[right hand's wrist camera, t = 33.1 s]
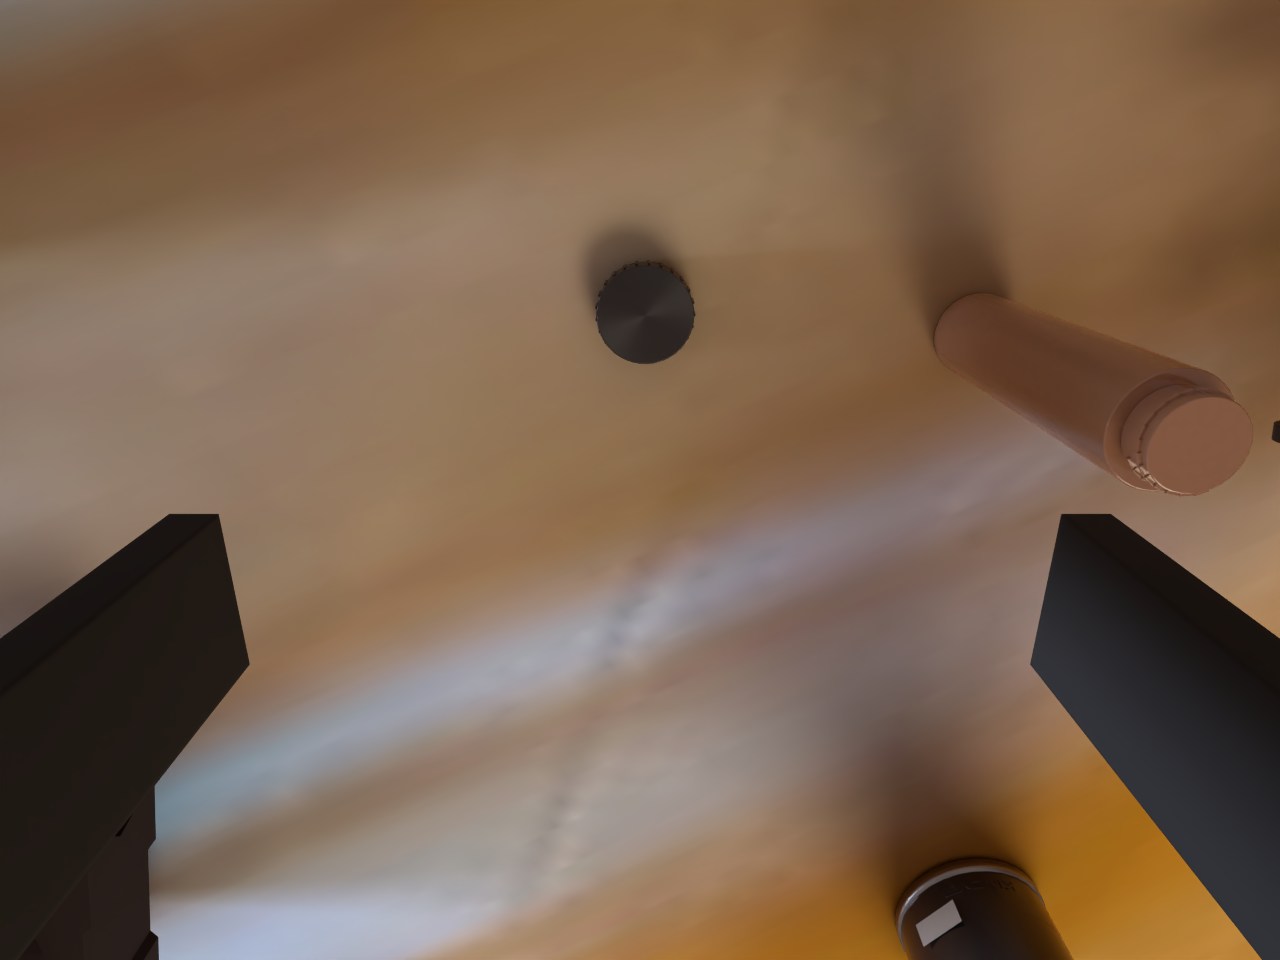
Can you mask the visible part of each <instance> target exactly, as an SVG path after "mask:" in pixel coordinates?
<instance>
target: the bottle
mask: <svg viewBox="0 0 1280 960" xmlns="http://www.w3.org/2000/svg"><path fill="white" fill-rule="evenodd" d="M934 344H935V350H936V353H937V355H938V357H939V359H940V361H941V362H942V363H943V364H944V365H945V366H946V367H947V368H948V369H950V370H951V371H953V372H954V373H956V374H958V375H959V376H961V377H962V378H964V379H965V380H967V381H968V382H970V383H971V384H973V385H974V386H976V387H977V388H979V389H980V390H982V391H984V392H985V393H987V394H988V395H990V396H991V397H993V398H994V399H996V400H997V401H999V402H1000V403H1002V404H1003V405H1005V406H1007V407H1008V408H1010V409H1011V410H1013V411H1014V412H1016V413H1017V414H1019V415H1020V416H1022V417H1023V418H1025V419H1026V420H1028V421H1029V422H1031V423H1033V424H1034V425H1036V426H1037V427H1039V428H1040V429H1042V430H1043V431H1045V432H1046V433H1048V434H1049V435H1051V436H1052V437H1054V438H1056V439H1057V440H1059V441H1060V442H1062V443H1063V444H1065V445H1066V446H1068V447H1069V448H1071V449H1072V450H1074V451H1075V452H1077V453H1078V454H1080V455H1082V456H1083V457H1085V458H1086V459H1088V460H1089V461H1091V462H1092V463H1094V464H1095V465H1097V466H1098V467H1100V468H1101V469H1103V470H1105V471H1106V472H1108V473H1109V474H1111V475H1112V476H1114V477H1115V478H1117V479H1118V480H1120V481H1121V482H1123V483H1125V484H1126V485H1128V486H1130V487H1133V488H1136V489H1139V490H1145V491H1162V492H1164V493H1167V494H1172V495H1178V496H1188V495H1194V496H1195V495H1199V494H1202V493H1205V492H1208V491H1209V490H1210V489H1212V488H1214V487H1216V486H1218V485H1220V484H1222V483H1223V482H1225V481H1226V480H1227V479H1229V478H1230V477H1231V476H1232V475H1233V474H1234V473H1235V472H1236V471H1237V470H1238V469H1239V468H1240V467H1241V465H1242V464H1243V463H1244V461H1245V459H1246V457H1247V456H1248V453H1249V451H1250V448H1251V445H1252V439H1253V428H1252V423H1251V420H1250V418H1249V416H1248V414H1247V412H1246V411H1245V410H1244V408H1243V407H1242V406H1241V405H1239V404H1238V403H1236V402H1235V401H1234V399H1233V396H1232V394H1231V392H1230V390H1229V389H1228V387H1227V386H1226V385H1225V383H1224V382H1222V381H1221V380H1220V379H1219V378H1218V377H1216V376H1215V375H1213V374H1211V373H1209V372H1207V371H1205V370H1202V369H1199V368H1196V367H1194V366H1191V365H1188V364H1185V363H1182V362H1180V361H1177V360H1174V359H1171V358H1169V357H1166V356H1163V355H1160V354H1157V353H1155V352H1152V351H1149V350H1146V349H1144V348H1141V347H1138V346H1135V345H1132V344H1130V343H1127V342H1124V341H1121V340H1119V339H1116V338H1113V337H1110V336H1107V335H1105V334H1102V333H1099V332H1096V331H1094V330H1091V329H1088V328H1085V327H1082V326H1080V325H1077V324H1074V323H1071V322H1069V321H1066V320H1063V319H1060V318H1057V317H1055V316H1052V315H1049V314H1046V313H1044V312H1041V311H1038V310H1035V309H1033V308H1030V307H1027V306H1024V305H1021V304H1019V303H1016V302H1013V301H1010V300H1008V299H1005V298H1002V297H999V296H996V295H993V294H989V293H975V294H971V295H967V296H965V297H962V298H961V299H959V300H957V301H956V302H954V303H953V304H952V305H951V306H949V307H948V308H947V310H946V311H945V312H944V313H943V315H942V316H941V318H940V320H939V322H938V324H937V327H936V330H935V336H934Z"/></svg>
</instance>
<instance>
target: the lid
mask: <svg viewBox="0 0 1280 960" xmlns="http://www.w3.org/2000/svg"><path fill="white" fill-rule="evenodd" d="M604 285H605V286H604V288H603V290H602V291H600V292H599V295H598V296H599V297H600V298H599V301H598V303H597V304H596V309H597V316H596V321H597V324H598V329H599V333H600V334H601V336H602V338H603V340H604V342H605V344H606V345H607V346H608V347H609V348H610V349H611V350H612V351H613V352H614V353H615V354H617V355H618V356H620V357H621V358H623V359H625V360H627V361H631V362H634V363H639V364H651V363H656V362H660V361H663V360H665V359H667V358H669V357H671V356H672V355H674V354H675V353H676V352H678V351H679V350H680V349H681V348H682V346H683V345H684V344H685V342H686V341H687V340H688V338H689V335H690V333H691V330H692V328H693V327H694V326H693V323H694V316H695V312H694V307H693V304H694V300H693V298H691V296H690V293H689V292H690V289H689V287H688V286H687V287H686V285H685V283H684V282H683V278H682V277H681V276H680V277H679V276H678V275H677V274H676V273H675V272H674V270H673V269H672V268H671V269H669V268H667V267H665V266H663V265H662V263H660V264H657V263H652V262H650V260H648V262H638V261H635V263H633V264H630V265H627V266H626V264H625V265H624V266H623V268H621V269H620V270H618V271H617V272H615V271H614V272H613V275H612V276H611V277H610V279H609V280H608V281H607V280H606V281H605V283H604Z"/></svg>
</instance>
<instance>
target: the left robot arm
mask: <svg viewBox="0 0 1280 960" xmlns="http://www.w3.org/2000/svg"><path fill="white" fill-rule="evenodd" d="M1272 440H1274V441H1276V442H1278V443H1280V421H1276V422H1274V426H1273V432H1272ZM895 923H896V928H897V932H898V935H899V938H900V941H901V944H902V946H903V948H904V950H905V952H906V953H907V956H908V959H909V960H1074V959H1073V957H1072V956H1071V954H1070V952H1069V950H1068V948H1067V947H1066V945H1065V943H1064V941H1063V939H1062V937H1061V935H1060V933H1059V932H1058V930H1057V928H1056V926H1055V924H1054V923H1053V921H1052V919H1051V917H1050V915H1049V914H1048V912H1047V910H1046V908H1045V904H1044V901H1043V899H1042V897H1041V895H1040V893H1039V892H1038V890H1037V888H1036V886H1035V885H1034V883H1033V881H1032V880H1031V879H1030V878H1029V877H1028V876H1027V875H1026V874H1025V873H1024V872H1022V871H1021V870H1019V869H1018V868H1016V867H1014V866H1012V865H1010V864H1007V863H1004V862H1001V861H997V860H991V859H965V860H959V861H954V862H951V863H947V864H944V865H942V866H939V867H937V868H935V869H932V870H931V871H929V872H927V873H925V874H924V875H922V876H921V877H920V878H918V879H917V880H916V881H915V882H914V883H912V884H911V885H910V887H909V888H908V889H907V890H906V891H905V893H904V894H903V896H902V897H901V899H900V901H899V903H898V906H897V909H896V915H895Z"/></svg>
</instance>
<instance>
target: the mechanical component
mask: <svg viewBox="0 0 1280 960" xmlns="http://www.w3.org/2000/svg"><path fill="white" fill-rule="evenodd" d="M155 839H156V831H155V792H154V787H153V788H152V789H151V791H150V792H149V793H148V794H147V796H146V797H145V798H144V800H143V801H142V802H141V803H140V805H139V806H138V807H137V809H136V810H135V811H134V812H133V814H132V815H131V816H130V817H129V819H128V820H127V821H126V823H125V824H124V825H123V826H122V828H121V829H120V830H119V831H118V833H117V834H116V835H115V837H114V838H113V839H112V840H111V842H110V843H109V844H108V845H107V847H106V848H105V849H104V851H103V852H102V853H101V854H100V856H99V857H98V858H97V859H96V861H95V862H94V863H93V865H92V866H91V867H90V868H89V870H88V871H87V872H86V873H85V875H84V876H83V877H82V879H81V880H80V881H79V882H78V884H77V885H76V886H75V887H74V889H73V890H72V891H71V893H70V894H69V895H68V896H67V898H66V899H65V900H64V901H63V903H62V904H61V905H60V907H59V908H58V909H57V910H56V912H55V913H54V914H53V916H52V917H51V918H50V919H49V921H48V922H47V923H46V924H45V926H44V927H43V928H42V930H41V931H40V932H39V933H38V935H37V936H36V937H35V938H34V940H33V941H32V942H31V944H30V945H29V946H28V947H27V949H26V950H25V951H24V952H23V954H22V955H21V956H20V958H19V959H18V960H159V950H158V937H157V936H156V935H155V934H154V933H153V932H151V931H150V905H149V872H148V849H149V847H150V846H151V845H152V843H153V842H154V840H155Z"/></svg>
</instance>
